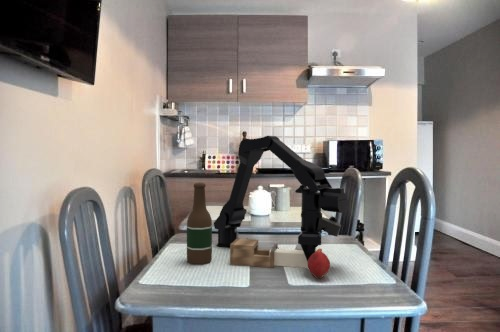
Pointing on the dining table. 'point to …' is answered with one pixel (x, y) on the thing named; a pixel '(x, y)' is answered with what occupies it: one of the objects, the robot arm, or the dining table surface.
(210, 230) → the beer bottle
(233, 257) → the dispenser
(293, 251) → the pink-topped cream pillar
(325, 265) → the onion
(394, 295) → the dining table surface
